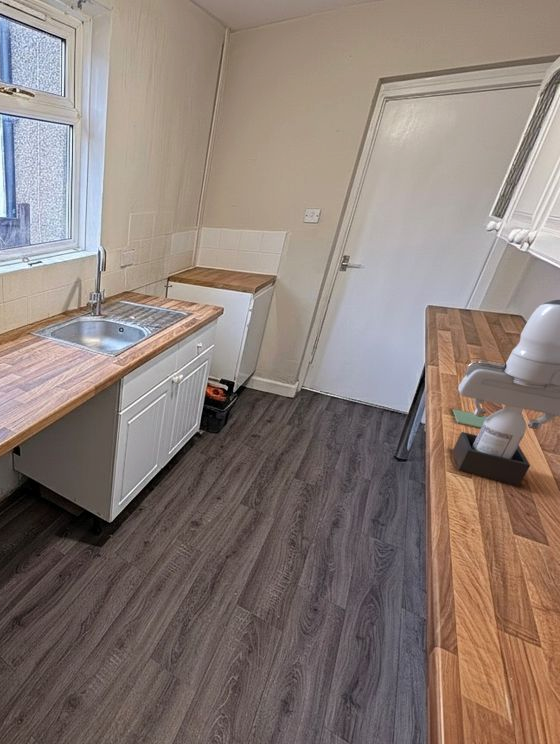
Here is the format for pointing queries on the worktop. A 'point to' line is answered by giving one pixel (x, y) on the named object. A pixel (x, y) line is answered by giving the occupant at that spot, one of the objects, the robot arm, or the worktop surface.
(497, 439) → the bath foam
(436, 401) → the worktop surface
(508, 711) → the worktop surface
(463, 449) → the holder
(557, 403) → the robot arm
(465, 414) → the mat
